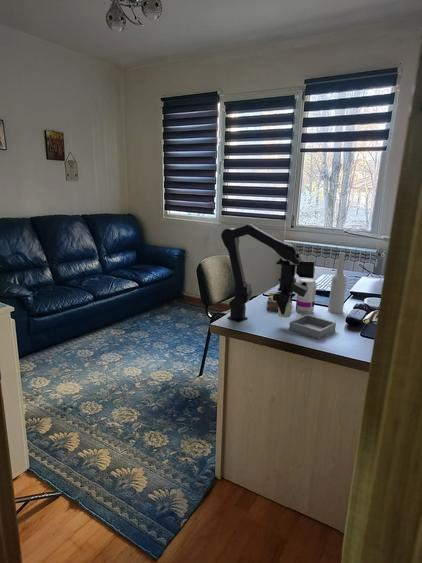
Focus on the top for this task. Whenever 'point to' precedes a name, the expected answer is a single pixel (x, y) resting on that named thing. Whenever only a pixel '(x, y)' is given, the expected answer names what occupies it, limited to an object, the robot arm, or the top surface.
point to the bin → (312, 326)
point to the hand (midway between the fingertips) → (284, 312)
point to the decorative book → (273, 303)
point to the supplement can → (306, 297)
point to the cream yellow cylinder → (286, 311)
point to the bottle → (338, 288)
